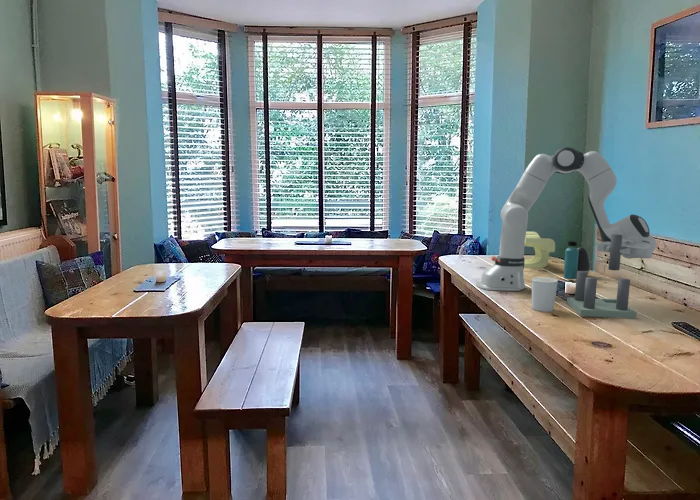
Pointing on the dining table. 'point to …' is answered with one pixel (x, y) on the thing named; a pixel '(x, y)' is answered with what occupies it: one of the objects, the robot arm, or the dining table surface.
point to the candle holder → (543, 293)
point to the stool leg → (615, 252)
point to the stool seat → (595, 307)
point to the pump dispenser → (583, 260)
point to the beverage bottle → (571, 261)
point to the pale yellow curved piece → (538, 250)
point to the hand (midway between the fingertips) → (614, 250)
